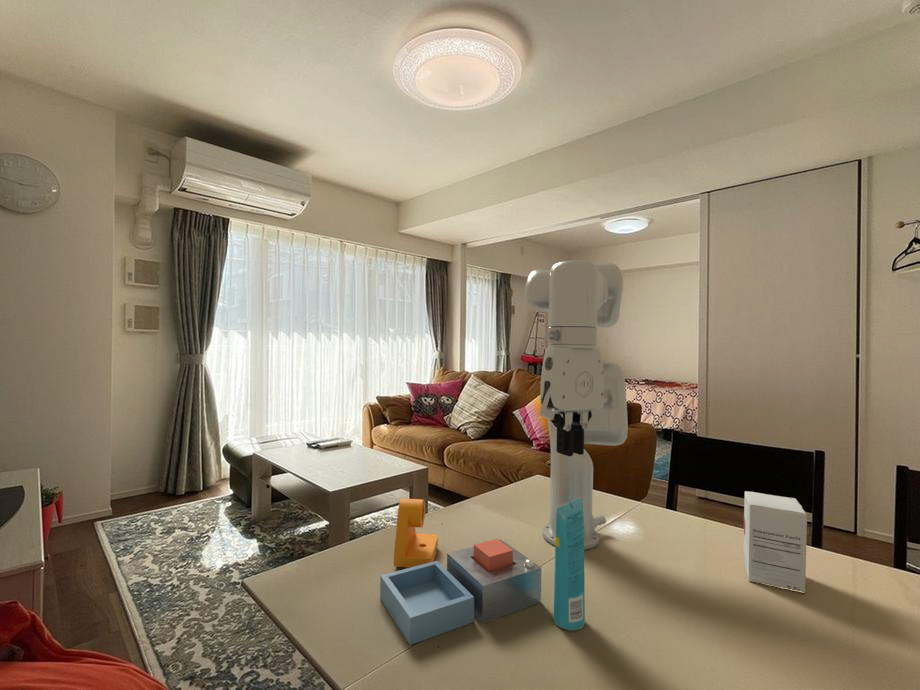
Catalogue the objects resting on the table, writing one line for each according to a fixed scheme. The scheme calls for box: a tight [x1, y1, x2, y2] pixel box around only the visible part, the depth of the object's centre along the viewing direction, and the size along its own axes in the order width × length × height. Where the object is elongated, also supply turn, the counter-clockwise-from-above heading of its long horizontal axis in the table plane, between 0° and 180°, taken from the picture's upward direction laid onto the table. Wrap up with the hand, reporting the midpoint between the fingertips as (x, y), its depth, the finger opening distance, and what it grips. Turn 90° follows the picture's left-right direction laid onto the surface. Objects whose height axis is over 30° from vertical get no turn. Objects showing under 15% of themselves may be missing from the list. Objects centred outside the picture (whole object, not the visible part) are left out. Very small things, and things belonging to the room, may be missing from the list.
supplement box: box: [742, 490, 808, 593], centre depth 84 cm, size 9×9×15 cm
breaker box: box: [446, 539, 542, 624], centre depth 76 cm, size 12×12×7 cm
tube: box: [553, 497, 586, 631], centre depth 69 cm, size 7×5×19 cm, turn 140°
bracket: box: [393, 498, 439, 568], centre depth 89 cm, size 11×7×12 cm, turn 175°
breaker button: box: [473, 538, 513, 572], centre depth 76 cm, size 5×5×7 cm
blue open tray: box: [379, 560, 475, 646], centre depth 71 cm, size 11×13×4 cm
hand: (569, 452), depth 69 cm, fingers closed
